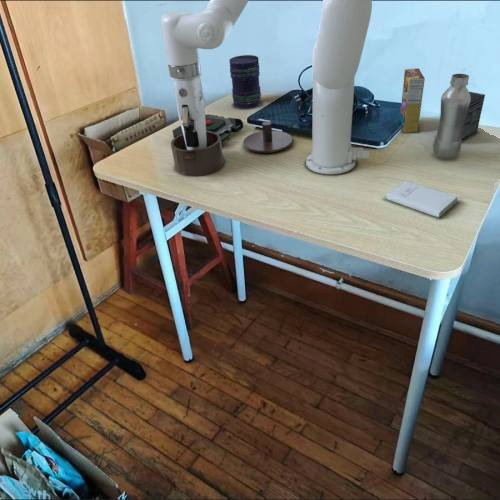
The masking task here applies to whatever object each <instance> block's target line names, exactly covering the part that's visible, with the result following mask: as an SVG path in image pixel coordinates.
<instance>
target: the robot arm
mask: <svg viewBox="0 0 500 500" xmlns="http://www.w3.org/2000/svg"><path fill="white" fill-rule="evenodd" d="M249 1H250V0H209V2H208V4H207V5H206V7H205V8H204V9H203V10H202V11H201V12H198V13H195V14H192V12H190V11H188V10H174V11H169V12H166V13H164V14H162V16H161V17H160V27H161V33H162V38H163V44H164V50H165V56H166V61H167V67H168V72H169V78H170V80H172V81H173V84H174V92H175V93H174V94H175V100H176V101H177V103H176V109H177V108H178V111H177V115H178V114H179V116H178V119H179V118H180V120H181V121H182V125H183V128H184V133H185V139H186V145H187V147H199V140H198V133H197V131H196V125H195V120H196V121H199V120H200V118H201V110H200V100H201V99H202V98H203V103H204V108H205V109H206V102H205V97H204V90H203V85H202V80H201V76H202V68H201V62H200V61H201V60H200V54H199V53H200V52H199V49H201V50H214V49H217V48H220V46H221V45H222V44H223V43H224V41H225V40H226V39H227V38H228V36H229V35H230V33H231V32H232V30H233V28H235V27H234V26H235V25H236V23H237V22H238V20H239V18H240V16H241V14H242V13H243V11H244V10H245V8H246V6H247V4H248V3H249ZM372 11H373V0H322V6H321V12H320V19H319V26H318V29H317V30H318V31H317V36H316V41H315V44H314V45H313V46H314V47H313V49H312V57H311V59H312V62H311V71H312V111H311V113H312V117H311V121H312V123H311V124H312V129H311V130H312V131H311V153H310V154H309V155H308V156H307V157H306V159H305V165H306V167H307V168H308V169H309V170H311V171H313V172H315V173H318V174H321V175H340V174H343V173H347V172H349V171H351V170H352V169H354V167H355V166H356V162H357V159H361V160H366V159H367V160H368V159H369V158H370V151H369V150H364V148H363V147H353V146H352V142H351V141H352V124H353V109H354V107H353V106H354V97H355V96H354V95H355V77H356V74H357V72H358V69H359V65H360V62H361V59H362V55H363V50H364V47H365V43H366V38H367V34H368V30H369V27H370V22H371V17H372ZM182 115H183V117H182ZM189 116H191V117H192V118H193V119H190V120H189ZM181 117H182V118H181ZM189 122H192V125H191V124H189Z"/></svg>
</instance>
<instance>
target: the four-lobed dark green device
mask: <svg viewBox="0 0 500 500" xmlns="http://www.w3.org/2000/svg"><path fill="white" fill-rule="evenodd" d="M205 118H206V129H207V131H211V132H215V133H217V134H219V136H220V138H221V144H224V143H225V142H226V141H228V140H229V139H230V137H232V133H234V134H235V133H238V132H239V131H242V129H243V128H244V122H243V120H242V119H240V118H235V117H225V116H223V115H220V116H219V115H217V114H216V115H215V114H208V113H207V114H206V113H205ZM171 132H172V137H173V139H174V138H175V137H177V136H179V135H181V134H183V132H182V128H181V125H179V126H177V127H176V128H174V129H172V131H171Z"/></svg>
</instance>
